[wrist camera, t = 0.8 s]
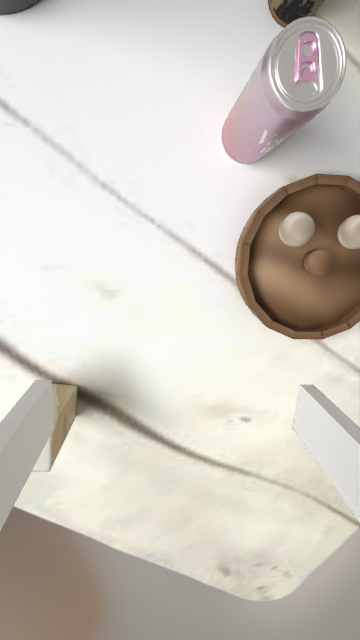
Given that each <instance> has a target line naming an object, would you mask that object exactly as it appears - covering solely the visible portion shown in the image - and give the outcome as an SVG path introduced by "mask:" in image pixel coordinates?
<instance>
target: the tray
mask: <svg viewBox="0 0 360 640" xmlns="http://www.w3.org/2000/svg"><path fill="white" fill-rule="evenodd" d="M293 212H304V213H306V214H308V215H309V216H310V217H311V218H312V219H313V221H314V224H315V231H314V234H313V236H312V238H311V239H310V240H309V241H308V242H307V243H306V244H304V245H302V246H299V247H291V246H288V245H286V244H284V243H283V242H282V240H281V239H280V237H279V225H280V223H281V221H282V220H283V219H284V218H285V217H286V216H287V215H288V214H290V213H293ZM354 215H360V182H358V181H357V180H355V179H353V178H352V177H350V176H341V175H325V174H315V175H312V176H310V177H307V178H304V179H302V180H299V181H297V182H294V183H291V184H289V185H286V186H284V187H281V188H279V189H278V190H277V191H276V192H275V193H273V194H272V195H271V196H269V197H268V198H267V199H266V200H264V201H263V202H262V203H261V204H260V206H259V207H258V208H257V209H256V210H255V211H254V212H253V214H252V215H251V217H250V218H249V220H248V221H247V223H246V225H245V227H244V229H243V231H242V234H241V236H240V239H239V242H238V246H237V251H236V258H235V272H236V280H237V284H238V288H239V291H240V293H241V296H242V298H243V300H244V302H245V304H246V305H247V306H248V308H249V309H250V310H251V312H252V313H253V314H254V315H255V316H256V317H257V318H258V319H259V320H260V321H261V322H262V323H263V324H264V325H265V326H266V327H268V328H270V329H272V330H274V331H277V332H279V333H281V334H283V335H286V336H288V337H290V338H292V339H324V338H327V337H330V336H332V335H335V334H338V333H340V332H343V331H346V330H348V329H351V328H352V327H353V326H354V325H355V324H356V323H358V322H359V321H360V249H348V248H346V247H344V246H343V245H341V243H340V242H339V240H338V236H337V232H338V229H339V226H340V225H341V223H342V222H343V221H344V220H346V219H347V218H349V217H351V216H354Z"/></svg>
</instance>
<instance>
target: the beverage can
mask: <svg viewBox="0 0 360 640" xmlns="http://www.w3.org/2000/svg"><path fill="white" fill-rule="evenodd" d="M345 71H346V50H345V45H344V42H343V40H342V37H341V36H340V34H339V32H338V31H337V29H336V28H335V27H334V26H333V25H332V24H331V23H329V22H328V21H326V20H324V19H322V18H319V17H312V16H309V17H303V18H299V19H297V20H295V21H293V22H291V23H290V24H289V25H287V26H286V27H285V28H284V29H283V30H282V31H281V32H280V33H279V34H278V35H277V36H276V37H275V38H274V39H273V40H272V42H271V43H270V45H269V46H268V48H267V50H266V52H265V53H264V55H263V57H262V58H261V60H260V62H259V64H258V65H257V67H256V69H255V70H254V72H253V74H252V76H251V77H250V79H249V81H248V82H247V84H246V86H245V88H244V89H243V91H242V93H241V94H240V96H239V98H238V100H237V101H236V103H235V105H234V106H233V108H232V110H231V112H230V113H229V115H228V117H227V119H226V120H225V122H224V125H223V129H222V143H223V146H224V149H225V151H226V153H227V154H228V155H229V156H230V157H231V158H232V159H233V160H235V161H236V162H239V163H242V164H250V163H254V162H256V161H258V160H260V159H261V158H262V157H264V156H265V155H266V154H267V153H269V152H270V151H271V150H272V149H274V148H275V147H276V146H277V145H279V144H280V143H281V142H283V141H284V140H285V139H286V138H288V137H289V136H290V135H291V134H293V133H294V132H295V131H297V130H298V129H299V128H300V127H302V126H303V125H304V124H305V123H307V122H308V121H309V120H311V119H312V118H313V117H314V116H316V115H317V114H318V113H319V112H321V111H322V110H323V109H324V108H325V107H326V106H327V105H328V104H329V102H330V101H331V99H332V98H333V97H334V95H335V94H336V93H337V91H338V90H339V88H340V86H341V84H342V81H343V79H344V75H345Z"/></svg>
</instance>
